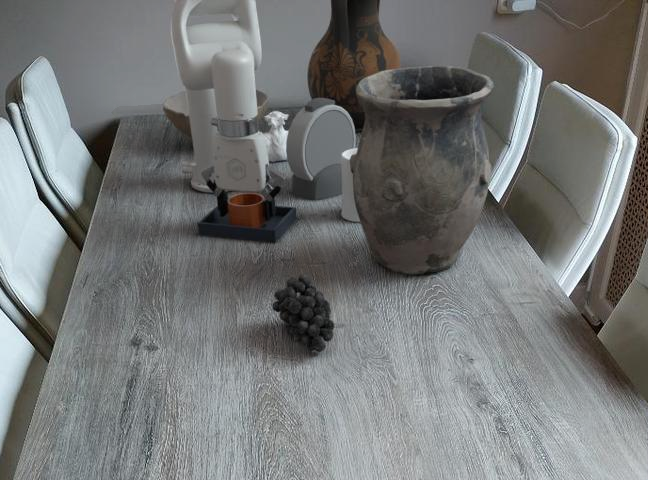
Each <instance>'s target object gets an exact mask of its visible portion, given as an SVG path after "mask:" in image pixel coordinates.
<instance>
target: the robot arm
mask: <svg viewBox="0 0 648 480" xmlns="http://www.w3.org/2000/svg"><path fill="white" fill-rule="evenodd" d="M256 3H257V2H256V0H174V5H173V7H172V8H173V9H172V12H171V16H170V37H171V38H170V39H171V43H172V48H173V54H174V59H175V64H176V70H177V73H178V77H179V80H180V82H181V84H182V85H183V87H184V91H185V92H186V98H187V105H188V112H189V119H190V126H191V134H192V139H191V140H192V147H193V155H194V162H192V161H182V162H181V164H180V168H181V173H182V174H187V175H188V174H191V176H192V178H191V180H190V183H191V184H190V185H191V187H192V188H193V189H195V190H196V191H199V192H202V193H211V194H213V196H214V197H216V204H217V205H218V210H219V211H220V216H221V217H224V216H225V215H226V214H227V213H228V204H227V199H228V198H229V194H228V192H232V191H233V192H241V193H260V194H261V195H262V196H264V197H265V201H264V210H265V220H266V221H270V220H271V219H272V218H273V217H274V215H275V213H276V208H275V206H276V196H278V195H279V194H280V193H281V191H283V187H284V186H285V183H286V181H287V176H286V175H285V174H283V173H281V172H280V171H278V170H276V169H275V168H273V167H271V166H270V161H269V159H268V154H267V149H266V144H265V141H264V137H263V132H262V131H260V124H258V112H257V99H256V90H257V89H256V80H255V79H256V77H255V71H257V70H258V69H259V68H260V66H261V63H262V61H263V60H262V59H263V52H262V50H263V49H262V39H261V33H260V32H261V31H260V26H259V17H258V11H257V4H256ZM217 15H219V16H220V15H230V16H231V17H232V18H233V20H229V21H219V22H217V21H215V22H207V23H205V22H204V23H196V24H190V25H188V26H187V23H188V22H187V21H188V17H205V16H206V17H207V16H208V17H209V16H217ZM271 179H273V180H274V181H275V183H276V184H275V186H274V187H273V186H272V185H271V184H270V183H271ZM217 205H216V206H217Z"/></svg>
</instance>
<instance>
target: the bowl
mask: <svg viewBox="0 0 648 480" xmlns="http://www.w3.org/2000/svg"><path fill="white" fill-rule="evenodd" d="M256 99H257V112H258V124H259V125H260V124H261V122H262V121H263V119H264V116H265V114H266V112H267V109H268V103H269V102H268V101H269V98H268V95H267V93H265V92H263V91H261V90H258V89H256ZM162 110H163V112H164V114H165V116H166V117H167V119H168V120H169V121H170V122H171V124H172V125H173V126H174V127H175V128H176V129H177V130H179V131H180V132H181V133H182V134H184V135H185V136H186V137H187V138H190V139H191V140H192V134H191V126H190V119H189V112H188V105H187V98H186V92H185V90H184V91H180V92H178V93H176V94H174V95H172V96H170V97H168V98H167V99H165V100H164V101H163V103H162Z"/></svg>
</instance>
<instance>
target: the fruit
mask: <svg viewBox="0 0 648 480" xmlns="http://www.w3.org/2000/svg"><path fill="white" fill-rule="evenodd" d="M298 294H299V295H298ZM274 299H275V300H277V301H274V302H273V303H272V304H271V305H272V310H273V311H274V312H276V313H279V319H280V320H281V321H283V322H284V324H285V326H284V330H285V332H286V333H287V334H288V335H289V334H290V335H292V338H293V340H294V341H295V342H297V343H301V344H302V345H303V346H305V347H306V348H307V349H308V350H310V351H315V352H317V353H322V352H323V351H324V350H326V348H327V347H326V346H327V345H326V342H330V341H331V340H333V338H334V332H333V331H334V329H335V322H334V321H333V320H331V316H330V315H331V313H332V309H331V308H330V306H331V305H330V302H329V301H328V300H326V299H325V297H324V293H323V292H322V291H320V290H318V288H317V286H316V284H314V283H313V281H312V279H311V278H310V277H309V276H308V275H307V274H300V275H299V276H298V278H296V277H293V276H291V277H290V278H288V279H287V281H286V287H285V288H283V289H277V290H276V291H275V292H274Z"/></svg>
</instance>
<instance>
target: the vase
mask: <svg viewBox="0 0 648 480" xmlns="http://www.w3.org/2000/svg"><path fill="white" fill-rule="evenodd" d="M380 4H381V0H330V9H331V12H330V20H329V23H328V24H329V25H328V27H327V29H326V31H325V33H324V34H323V36H322V37H321V38H320V39H319V41H318V42H317V44H316V45H315V47H314V49H313V50H312V52H311V55H310V58H309V61H308V66H307V74H306V75H307V76H306V77H307V79H306V81H307V88H308V94H309V96H310V99H311V100H312V99H314V98H326V99H330V100H334V101H335V105H336V106H339V107H342V108H343V109H344V110H346V111H347V112H348V114H349V115H350V117H351V118H352V121H353V124H354V127H355V133H356V132H362V131H363V127H364V123H365V112H364V110H363V108H362V106H361V104H360V102H359V100H358V98H357V95H356V87H357V85H358V84H359V82H360V81H361V80H362V79H364V78H366V77H369V76H371V75H374V74H376V73H379V72H381V71H386V70H394V69H401V68H402V60H401V57H400V54H399V51H398V49H397V47H396V45H394V43H393V42H392V41H391V40H390V39H389V37H387V35H386V34H385V33H384V30H383V28H382V26H381V22H380V7H381V5H380Z"/></svg>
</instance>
